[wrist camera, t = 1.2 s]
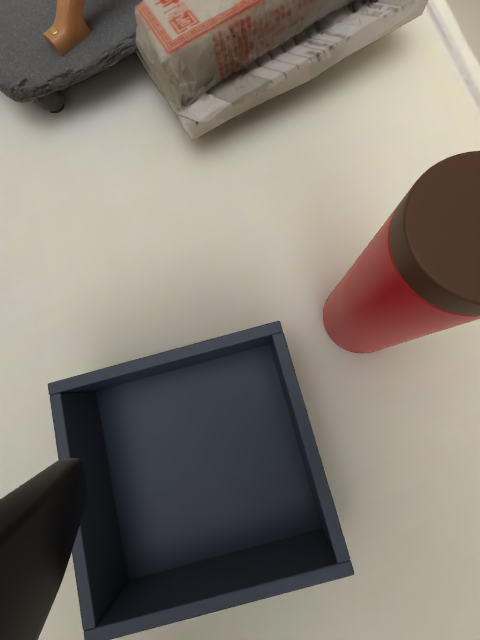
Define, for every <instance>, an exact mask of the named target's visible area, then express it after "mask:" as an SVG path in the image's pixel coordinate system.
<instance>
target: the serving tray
mask: <svg viewBox="0 0 480 640" xmlns="http://www.w3.org/2000/svg"><path fill="white" fill-rule="evenodd" d="M142 1H143V0H0V90H1V91H2V92H3V93H4V94H5V95H7V96H8V97H10V98H11V99H13V100H14V101H16V102H22V103H23V102H27V101H31V100H35V102H36V103H37V104H38V105H39V106H40V107H42V108H43V109H45V110H48V111H50V112H52V113H58V112H60V111H61V110H62V109H63V108H64V106H65V103H64V94H63V91H62V89H65V88H68V87H70V86H72V85H74V84H76V83H79V82H82V81H84V80H86V79H88V78H90V77H91V76H93V75H95V74H97V73H100V72H102V71H104V70H106V69H108V68H110V67H111V66H113V65H114V64H116V63H117V62H119V61H120V60H121V59H123V58H125V57H127V56H129V55H131V54H133V53H135V52H137V51H139V50H138V47H137V45H136V27H137V22H136V17H135V6H137V5H138V4H140V3H141V2H142Z"/></svg>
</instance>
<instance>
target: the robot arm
mask: <svg viewBox="0 0 480 640" xmlns="http://www.w3.org/2000/svg"><path fill="white" fill-rule="evenodd" d="M88 496H89V489H88V483H87V478H86V473H85V468H84V464H83V461H82V460H81V459H79V458H70V459H61V460H58V461H57V462H55V463H54V464H52V465H51V466H49V467H48V468H46V469H45V470H43V471H42V472H40V473H39V474H37V475H36V476H34V477H33V478H31V479H30V480H29V481H27V482H26V483H24V484H23V485H21V486H20V487H18V488H17V489H15V490H14V491H12V492H11V493H9V494H8V495H6V496H5V497H3V498H2V499H0V640H38V638H39V635H40V633H41V631H42V628H43V626H44V623H45V621H46V619H47V616H48V614H49V612H50V609H51V607H52V604H53V602H54V600H55V597H56V595H57V592H58V590H59V587H60V585H61V582H62V579H63V577H64V574H65V571H66V568H67V565H68V561H69V558H70V555H71V552H72V549H73V546H74V543H75V539H76V536H77V533H78V530H79V527H80V524H81V520H82V517H83V514H84V511H85V508H86V505H87V501H88Z"/></svg>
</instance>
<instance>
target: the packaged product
mask: <svg viewBox="0 0 480 640" xmlns="http://www.w3.org/2000/svg"><path fill="white" fill-rule="evenodd" d="M427 2H428V0H143V1H142V2H141V3H140V4H138V5H137V6H135V17H136V22H137V27H136V45H137V47H138V50H139V51H137V52H136V53H137V55H138V57H139V59H140V60H141V62H142V64H143V65H144V67H145V69H146V70H147V72H148V74H149V76H150V77H151V79H152V81H153V82H154V83H155V85H156V86H157V87H158V89H159V90H160V92H161V93H162V94H163V96H164V97H165V98H166V100H167V101H168V103H169V105H170V106H171V108H172V110H173V111H174V113H175V115H176V116H177V118H178V120H179V121H180V123H181V125H182V126H183V128H184V130H185V131H186V132H187V134H188V135H189V136H190V137H191V138H192V139H193V140H194V139H196V138H198V137H200V136H201V135H203V134H205V133H207V132H209V131H210V130H212V129H214V128H216V127H217V126H219V125H221V124H223V123H224V122H226V121H228V120H230V119H232V118H234V117H236V116H237V115H239V114H241V113H243V112H245V111H247V110H249V109H251V108H253V107H255V106H257V105H259V104H261V103H263V102H265V101H267V100H269V99H271V98H273V97H275V96H278V95H280V94H282V93H284V92H286V91H288V90H291V89H293V88H295V87H297V86H299V85H302V84H304V83H306V82H308V81H310V80H312V79H313V78H315V77H316V76H318V75H319V74H321V73H322V72H324V71H325V70H327V69H328V68H330V67H331V66H333V65H334V64H336V63H338V62H339V61H341V60H342V59H344V58H345V57H347V56H349V55H351V54H352V53H354V52H356V51H358V50H360V49H361V48H363V47H365V46H367V45H368V44H370V43H372V42H374V41H376V40H377V39H379V38H381V37H383V36H385V35H386V34H388V33H390V32H392V31H394V30H395V29H397V28H399V27H401V26H402V25H404V24H406V23H408V22H410V21H411V20H413V19H415V18H417V17H419V16H420V15H422V13H423V11H424V8H425V6H426V4H427Z"/></svg>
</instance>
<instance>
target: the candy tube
mask: <svg viewBox="0 0 480 640" xmlns="http://www.w3.org/2000/svg"><path fill="white" fill-rule="evenodd" d="M477 319H480V151H473V152H466V153H461V154H457V155H455V156H452V157H449V158H446V159H444V160H442V161H440V162H438V163H437V164H435V165H434V166H432V167H431V168H429V169H428V170H427V171H426V172H425V173H423V174H422V175H421V177H420V178H419V179H418V180H417V181H416V182H415V184H414V185H413V186H412V188H411V189H410V190H409V192H408V193H407V194H406V196H405V197H404V198H403V200H402V201H401V202H400V204H399V205H398V206H397V207H396V209H395V210H394V211H393V213H392V214H391V215H390V217H389V218H388V219H387V221H386V222H385V223H384V225H383V226H382V227H381V229H380V230H379V231H378V233H377V234H376V235H375V237H374V238H373V239H372V240H371V242H370V243H369V244H368V246H367V247H366V248H365V250H364V251H363V252H362V254H361V255H360V256H359V258H358V259H357V260H356V262H355V263H354V264H353V266H352V267H351V268H350V269H349V271H348V272H347V273H346V275H345V276H344V277H343V279H342V280H341V281H340V283H339V284H338V285H337V287H336V288H335V289H334V291H333V292H332V293H331V295H330V296H329V297H328V299H327V301H326V303H325V306H324V311H323V321H324V325H325V328H326V331H327V333H328V334H329V336H330V337H331V339H332V340H333V341H334V342H335V343H336V344H338V345H339V346H340V347H342V348H344V349H346V350H348V351H351V352H355V353H369V352H374V351H377V350H380V349H383V348H386V347H390V346H393V345H396V344H399V343H403V342H406V341H409V340H412V339H415V338H419V337H422V336H425V335H428V334H432V333H435V332H438V331H441V330H444V329H448V328H451V327H454V326H457V325H461V324H464V323H467V322H470V321H473V320H477Z"/></svg>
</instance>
